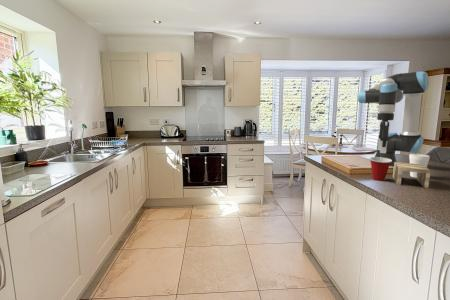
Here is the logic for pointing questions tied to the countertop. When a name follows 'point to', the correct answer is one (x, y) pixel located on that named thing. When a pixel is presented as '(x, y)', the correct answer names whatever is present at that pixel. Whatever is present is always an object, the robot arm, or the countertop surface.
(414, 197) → the countertop surface
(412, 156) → the foam cup
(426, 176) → the oak shelf
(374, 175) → the plastic cup
